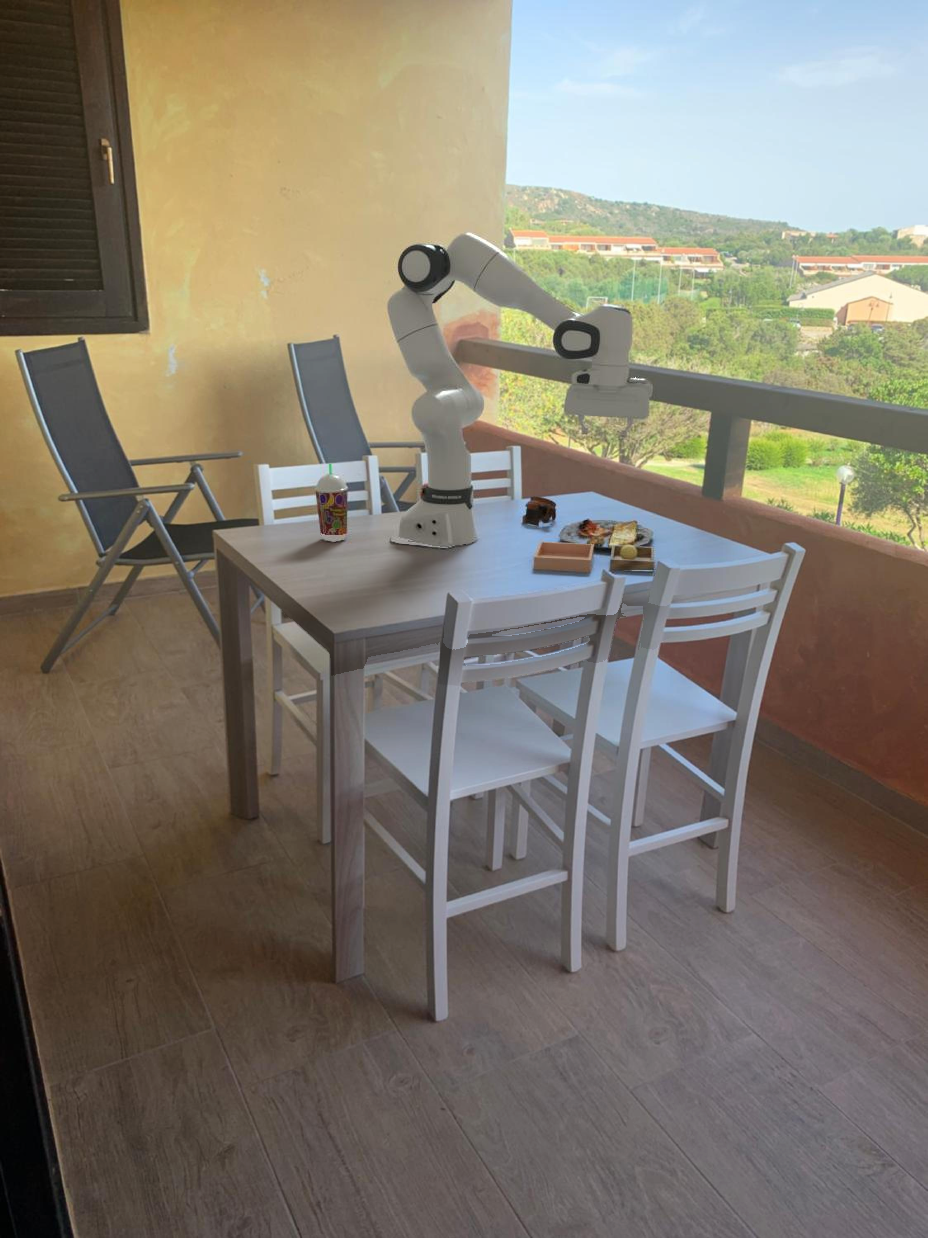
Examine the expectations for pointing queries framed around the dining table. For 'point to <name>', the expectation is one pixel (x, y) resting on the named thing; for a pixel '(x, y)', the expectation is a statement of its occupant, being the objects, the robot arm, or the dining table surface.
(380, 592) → the dining table surface
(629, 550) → the ball
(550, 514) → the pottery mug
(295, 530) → the dining table surface
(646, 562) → the tray
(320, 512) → the smoothie
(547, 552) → the dish
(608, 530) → the food plate
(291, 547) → the dining table surface
